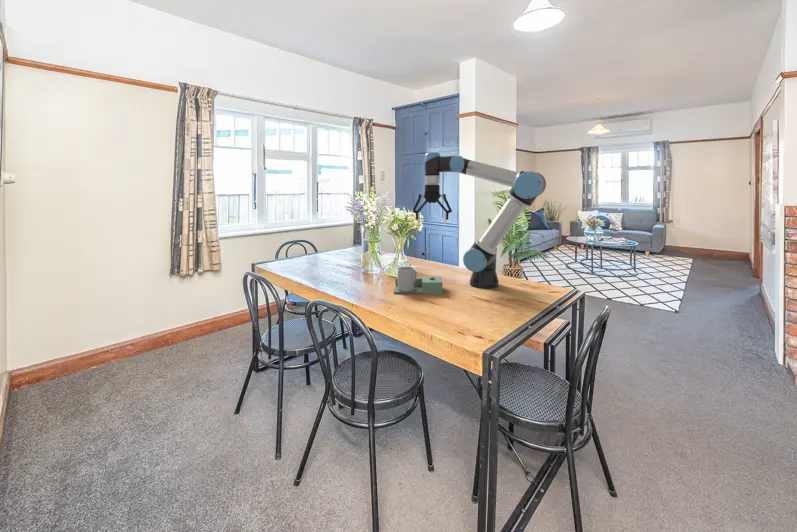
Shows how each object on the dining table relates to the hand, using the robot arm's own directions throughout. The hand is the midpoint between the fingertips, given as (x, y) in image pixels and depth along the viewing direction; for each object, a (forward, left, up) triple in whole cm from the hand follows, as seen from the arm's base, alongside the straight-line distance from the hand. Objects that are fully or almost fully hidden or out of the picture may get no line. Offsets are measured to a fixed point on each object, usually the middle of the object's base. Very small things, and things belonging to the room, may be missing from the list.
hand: (431, 226), depth 203 cm
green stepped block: (+6, +11, -32) cm, 34 cm away
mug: (+12, +11, -31) cm, 35 cm away
